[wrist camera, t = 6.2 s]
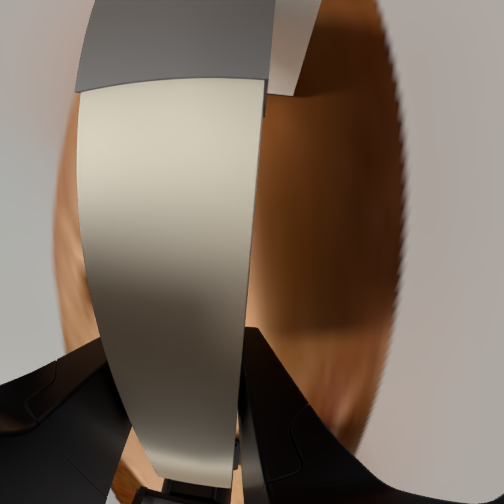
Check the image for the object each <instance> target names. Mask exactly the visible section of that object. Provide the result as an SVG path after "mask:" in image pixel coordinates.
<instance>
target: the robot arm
mask: <svg viewBox="0 0 504 504" xmlns="http://www.w3.org/2000/svg"><path fill="white" fill-rule="evenodd" d="M308 404H309V403H308V401H307V400H306V398H305V397H304V395H303V394H302V393H301V391H300V390H299V388H298V387H297V385H296V384H295V382H294V381H293V380H292V378H291V377H290V375H289V374H288V372H287V371H286V369H285V368H284V366H283V365H282V363H281V362H280V360H279V359H278V357H277V356H276V354H275V353H274V351H273V350H272V348H271V347H270V345H269V344H268V342H267V341H266V339H265V338H264V336H263V335H262V333H261V332H260V330H259V329H258V328H256V327H245V328H244V338H243V349H242V359H241V371H240V384H239V396H238V422H239V439H240V440H239V439H235V446H234V458H233V469H232V480H233V470H237V469H238V461H239V453H240V454H241V468H242V482H243V494H244V504H467V503H459V502H452V501H446V500H440V499H434V498H430V497H425V496H421V495H416V494H412V493H408V492H405V491H401V490H398V489H395V488H393V487H391V486H389V485H387V484H385V483H383V482H382V481H381V480H379V479H378V478H377V477H376V476H374V475H373V474H372V473H371V472H370V471H369V470H368V469H367V468H366V467H365V466H363V464H362V463H361V462H360V461H359V460H358V459H357V458H356V457H355V456H354V455H353V454H352V453H351V452H350V451H349V450H348V449H347V448H346V447H345V446H344V445H343V444H342V443H341V442H340V441H339V440H338V439H337V438H336V437H335V436H334V435H333V434H332V433H331V431H330V430H329V429H328V428H327V427H326V425H325V424H324V423H323V422H322V420H321V419H320V418H319V416H318V415H317V414H316V412H315V411H314V409H313V408H312V407H311V405H308ZM131 428H132V424H131V422H130V419H129V417H128V415H127V412H126V410H125V407H124V405H123V403H122V400H121V397H120V395H119V392H118V390H117V387H116V384H115V381H114V379H113V376H112V373H111V370H110V367H109V364H108V361H107V357H106V354H105V351H104V348H103V344H102V341H101V337H99V338H97V339H95V340H93V341H91V342H89V343H87V344H85V345H84V346H82V347H80V348H78V349H76V350H74V351H72V352H70V353H68V354H66V355H64V356H63V357H61V358H59V359H57V361H53V362H51V363H49V364H47V365H46V366H43V367H41V368H39V369H37V370H35V371H33V372H31V373H29V374H26V375H24V376H22V377H19V378H17V379H14V380H12V381H9V382H7V383H4V384H2V385H0V504H105V503H106V500H107V496H108V493H109V490H110V487H111V484H112V481H113V478H114V475H115V472H116V469H117V466H118V463H119V461H120V458H121V455H122V452H123V449H124V447H125V444H126V441H127V438H128V436H129V433H130V430H131ZM232 480H231V488H222V487H213V486H206V485H199V484H193V483H187V482H182V481H177V480H172V479H167V478H165V479H164V483H163V487H162V491H161V492H158V491H154V490H151V489H148V488H147V487H144V486H141V487H140V489H137V491H136V494H135V497H134V499H133V502H132V504H230V503H231V491H232ZM481 504H504V494H502V495H501V496H499V497H498V498H497V499H495V500H494V501H490V502H487V503H481Z"/></svg>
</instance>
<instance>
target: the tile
mask: <svg viewBox="0 0 504 504" xmlns="http://www.w3.org/2000/svg"><path fill="white" fill-rule="evenodd" d="M321 1H322V0H275V12H274V24H273V35H272V47H271V59H270V71H269V82H268V91H267V93H269V94H279V95H288V96H293V94H294V91H295V87H296V84H297V81H298V77H299V74H300V70H301V67H302V64H303V60H304V57H305V54H306V50H307V47H308V44H309V40H310V37H311V34H312V30H313V27H314V24H315V20H316V17H317V14H318V11H319V7H320V4H321Z"/></svg>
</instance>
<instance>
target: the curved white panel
mask: <svg viewBox="0 0 504 504" xmlns="http://www.w3.org/2000/svg"><path fill="white" fill-rule="evenodd" d="M274 12H275V0H95V3H94V6H93V9H92V12H91V16H90V19H89V23H88V26H87V30H86V34H85V38H84V43H83V47H82V52H81V57H80V62H79V68H78V73H77V80H76V87H75V92H76V93H81V98H80V107H79V119H78V135H77V194H78V210H79V222H80V232H81V241H82V249H83V256H84V263H85V269H86V275H87V280H88V286H89V291H90V296H91V300H92V305H93V309H94V314H95V318H96V322H97V326H98V330H99V333H100V337H101V341H102V344H103V348H104V351H105V354H106V357H107V361H108V364H109V367H110V370H111V373H112V376H113V379H114V381H115V384H116V387H117V390H118V392H119V395H120V397H121V400H122V403H123V405H124V407H125V410H126V412H127V415H128V417H129V419H130V422H131V424H132V426H133V428H134V431H135V433H136V435H137V437H138V439H139V441H140V443H141V445H142V447H143V449H144V451H145V453H146V455H147V457H148V459H149V461H150V463H151V465H152V466H153V468H154V470H155V472H156V474H157V475H158V476H159V477H163V478H167V479H172V480H177V481H182V482H187V483H193V484H199V485H206V486H213V487H222V488H231V480H232V469H233V458H234V446H235V435H236V424H237V413H238V396H239V384H240V371H241V359H242V349H243V338H244V328H245V318H246V307H247V295H248V283H249V271H250V260H251V248H252V236H253V224H254V213H255V201H256V189H257V178H258V166H259V154H260V143H261V131H262V120H263V117H264V118H265V109H266V100H267V91H268V82H269V71H270V59H271V47H272V35H273V24H274Z"/></svg>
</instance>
